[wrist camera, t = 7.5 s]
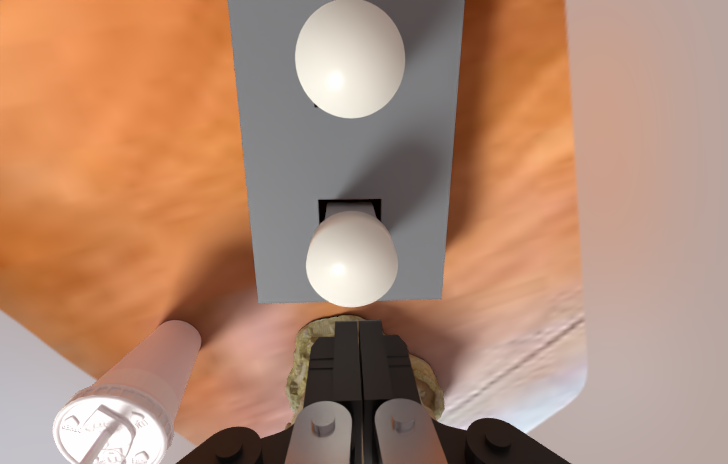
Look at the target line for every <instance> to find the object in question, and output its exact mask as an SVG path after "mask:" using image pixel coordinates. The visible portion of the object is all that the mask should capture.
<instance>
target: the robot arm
mask: <svg viewBox="0 0 728 464" xmlns="http://www.w3.org/2000/svg"><path fill="white" fill-rule="evenodd" d="M362 439H363V456H364V464H571V463H569V462H567V461H566V460H565V459H563V458H561V457H560V456H558V455H557V454H555V453H554V452H552V451H551V450H549V449H548V448H546V447H544V446H543V445H542V444H540V443H538V442H537V441H535V440H534V439H532V438H531V437H529V436H528V435H526V434H525V433H523V432H522V431H520V430H519V429H517V428H516V427H514V426H512V425H511V424H509V423H507V422H505V421H502V420H499V419H494V418H483V419H479V420H476V421H474V422H473V423H472V424H471V425H470V426H469V428H468V429H467V431H466V430H462V429H458V428H454V427H450V426H446V425H444V424H441V423H439V422H437V421H436V420H434V419H433V418H431V417H430V415H429V413H428V411H427V410H426V409H425V408H424V407H423V406H422V404H421V400H420V396H419V393H418V389H417V385H416V381H415V377H414V373H413V369H412V366H411V361H410V358H409V353H408V349H407V345H406V344H405V343H404V341H403V340H402V339H401V338H400V337H399V336H398V335H383V330H382V324H381V320H359V346H358V329H357V320H354V321H335V335H334V337H319V338H318V339H317V340H316V341H315V343H314V344H313V345H312V347H311V351H310V360H309V366H308V374H307V382H306V389H305V397H304V405H303V410H302V411H301V412H300V413H299V414H298V416H297V417H296V420H295V423H294V424H293V425H291V426H290V427H289V428H287V429H286V430H284V431H282V432H279V433H277V434H274V435H271V436H268V437H264V438H261V439H260V437H259V435H258V434H257V433H256V432H255V431H253V430H252V429H249V428H246V427H231V428H227V429H224V430H221V431H219V432H217V433H216V434H214V435H213V436H211V437H210V438H208V439H207V440H206V441H205V442H203V443H202V444H201V445H199V446H198V447H197V448H195V449H194V450H193V451H192V452H190V453H189V454H188V455H186V456H185V457H184V458H183V459H181V460H180V461H179V462H177V463H176V464H362Z"/></svg>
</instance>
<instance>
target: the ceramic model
mask: <svg viewBox="0 0 728 464" xmlns="http://www.w3.org/2000/svg"><path fill="white" fill-rule="evenodd" d="M354 320H357V329H358V346H359V320H365V319H363V318H361V317H358V316H352V315H342V316H339V317H332V318H329V319H321V320H317V321H314V322H311V323H309V324H308V325H306V326H305V327H303V328H302V329H301V330H300V331H299V332H298V334H297V336H296V338H295V344H296V349H295V351H294V358H295V360H294V365H293V368H292V370H291V372H290V374H289V377H288V379H287V385H286V394H287V396H288V399H289V401H290V408H291V410H292V411H293V412H294V413H295V414H294V416H293V418H292V422H291V423H288V424H287V425H286V427H285V430H286V429H287V428H289V427H290V426H291V425H293V424H294V423H295V420H296V417H297V416H298V414H299V413H300V412H301V411H302V410H303V405H304V397H305V389H306V382H307V374H308V366H309V360H310V351H311V347H312V345H313V344H314V343H315V341H316V340H317V339H318V338H319V337H334V335H335V321H354ZM383 335H385V334H384V333H383ZM409 358H410V361H411V366H412V369H413V373H414V377H415V381H416V385H417V389H418V393H419V396H420V400H421V404H422V406H423V407H424V408H425V409H426V410H427V411H428V413H429V415H430V417H431V418H433V419H434V420H436V421H437V420H438V419H439V418H440V417H441V415H442V412H443V411H444V398H443V391H442V389H441V388H440V386H439V385H438V382H437V379H436V376H435V375H434V373H433V370H432V369H431V367H430V366H429V365H428V364H427V363H426V362H425V361H424V360H422V359H420V358H418V357H416V356H413V355H411V354H409ZM362 464H364V456H363V439H362Z"/></svg>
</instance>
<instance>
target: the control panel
mask: <svg viewBox="0 0 728 464" xmlns="http://www.w3.org/2000/svg"><path fill="white" fill-rule="evenodd" d="M332 1H334V0H228V7H229V17H230V27H231V37H232V47H233V57H234V67H235V77H236V87H237V97H238V106H239V116H240V126H241V136H242V146H243V156H244V166H245V176H246V186H247V196H248V206H249V216H250V225H251V235H252V245H253V255H254V265H255V275H256V285H257V295H258V304H265V303H306V302H329V301H327V300H325V299H324V298H322V297H321V296H320V295H319V294H318V293H317V292H316V291H315V290H314V289H313V287H312V285H311V284H310V282H309V279H308V276H307V271H306V260H307V254H308V250H309V246H310V241H311V238H312V235H313V233H314V231H315V230H316V228H317V227H318V226H319V225H320V222H319V200H320V199H381V213H380V222H382V224H383V225H384V226H385V227H386V228H387V230H388V232H389V234H390V236H391V239H392V242H393V245H394V248H395V251H396V254H397V258H398V271H397V275H396V278H395V281H394V283H393V285H392V286H391V288H390V289H389V290H388V291H387V292H386V294H385V295H383V296H382V297H381V298H380V299H378V300H376V301H390V300H431V299H442V286H443V273H444V260H445V247H446V235H447V222H448V209H449V196H450V183H451V171H452V158H453V145H454V132H455V119H456V106H457V94H458V81H459V68H460V55H461V42H462V30H463V17H464V4H465V0H364V1H367V2H370V3H372V4H374V5H376V6H377V7H379V8H380V9H381V10H383V11H384V12H385V13H386V14H387V15H388V16H389V17H390V18H391V19H392V21H393V22H394V23H395V25H396V27H397V29H398V30H399V33H400V35H401V37H402V41H403V44H404V50H405V69H404V74H403V78H402V81H401V84H400V86H399V88H398V90H397V92H396V93H395V95H394V96H393V97H392V99H391V100H390V101H389V102H388V103H387V104H386V105H385V106H384V107H382V108H381V109H380V110H378V111H377V112H375V113H373V114H370V115H368V116H365V117H360V118H342V117H337V116H334V115H332V114H329V113H327V112H325V111H324V110H322V109H321V108H319V107H315V103H314V102H313V101H312V100H311V99H310V98H309V97H308V95H307V94H306V92H305V91H304V89H303V87H302V85H301V83H300V81H299V78H298V75H297V70H296V64H295V51H296V44H297V40H298V37H299V34H300V32H301V29H302V28H303V26H304V24H305V22H306V21H307V20H308V18H309V17H310V16H311V15H312V14H313V13H314V12H315V11H316V10H317V9H319V8H320V7H321V6H323V5H325V4H327V3H329V2H332Z"/></svg>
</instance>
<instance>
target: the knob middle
mask: <svg viewBox="0 0 728 464" xmlns="http://www.w3.org/2000/svg"><path fill="white" fill-rule="evenodd" d="M295 64H296V70H297V75H298V78H299V81H300V83H301V85H302V87H303V89H304V91H305V92H306V94H307V95H308V97H309V98H310V99H311V100H312V101H313V102H314V103H315V104H316V105H317V106H318V107H319V108H321V109H322V110H324V111H325V112H327V113H329V114H332V115H334V116H337V117H342V118H360V117H365V116H368V115H370V114H373V113H375V112H377V111H378V110H380V109H381V108H382V107H384V106H385V105H386V104H387V103H388V102H389V101H390V100H391V99H392V97H393V96H394V95H395V93H396V92H397V90H398V88H399V86H400V84H401V81H402V78H403V74H404V69H405V50H404V44H403V41H402V37H401V35H400V33H399V30H398V29H397V27H396V25H395V23H394V22H393V21H392V19H391V18H390V17H389V16H388V15H387V14H386V13H385V12H384V11H383V10H381V9H380V8H379V7H377V6H376V5H374V4H372V3H370V2H367V1H364V0H334V1H332V2H329V3H327V4H325V5H323V6H321V7H320V8H319V9H317V10H316V11H315V12H314V13H313V14H312V15H311V16H310V17H309V18H308V20H307V21H306V22H305V24H304V26H303V28H302V29H301V32H300V34H299V37H298V40H297V44H296V51H295Z"/></svg>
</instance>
